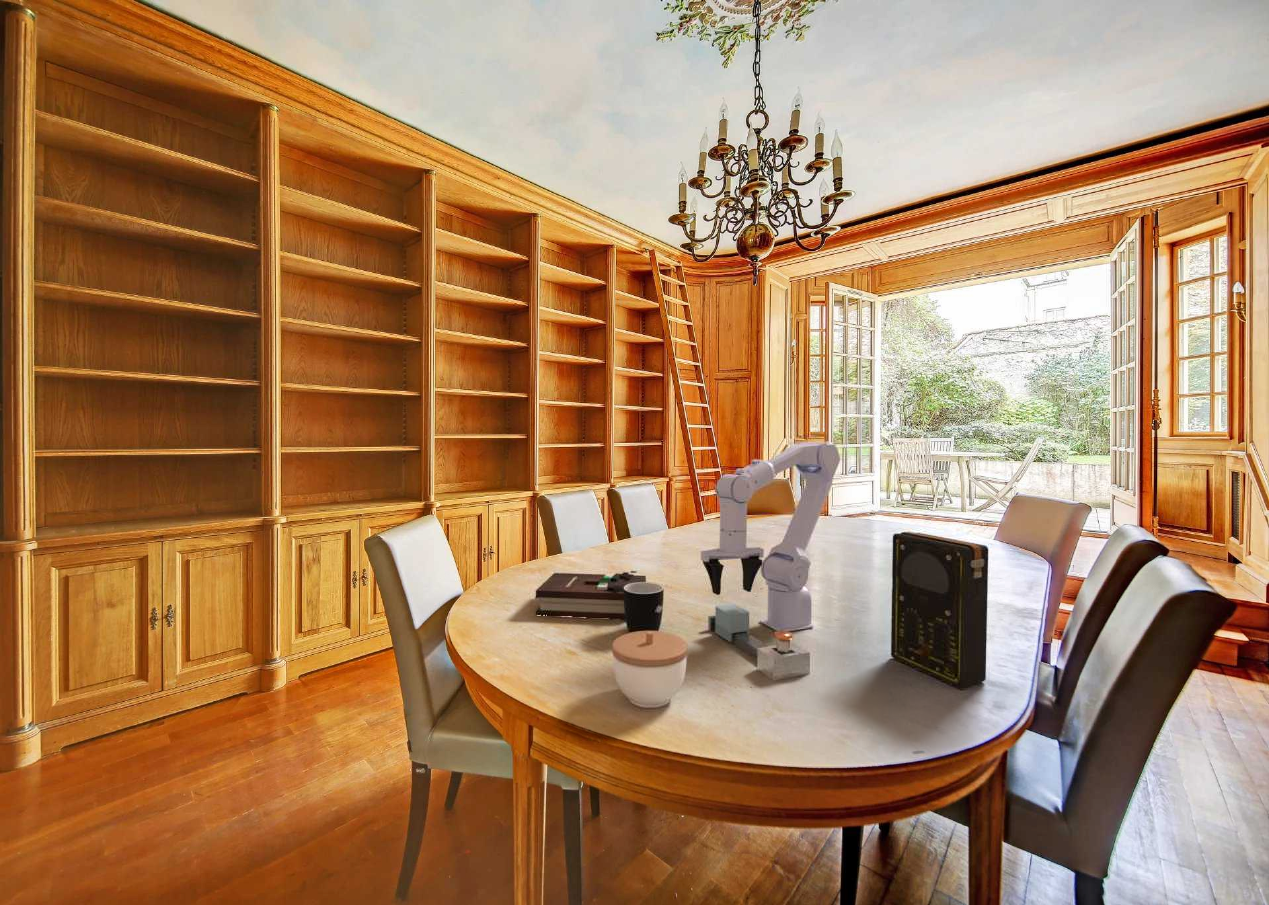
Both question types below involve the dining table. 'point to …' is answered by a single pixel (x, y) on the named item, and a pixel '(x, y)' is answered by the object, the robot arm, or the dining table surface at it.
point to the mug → (643, 606)
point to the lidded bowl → (649, 666)
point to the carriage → (731, 620)
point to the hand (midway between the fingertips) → (731, 592)
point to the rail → (741, 639)
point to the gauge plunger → (783, 641)
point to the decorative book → (585, 595)
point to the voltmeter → (940, 607)
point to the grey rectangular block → (783, 662)
